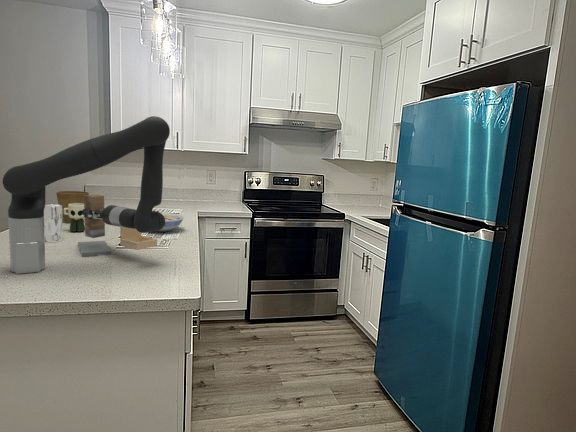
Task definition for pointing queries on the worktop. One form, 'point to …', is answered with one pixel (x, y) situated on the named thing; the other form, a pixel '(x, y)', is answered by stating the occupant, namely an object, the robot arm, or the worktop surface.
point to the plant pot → (70, 200)
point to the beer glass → (53, 222)
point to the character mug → (75, 216)
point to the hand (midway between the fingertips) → (90, 211)
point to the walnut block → (94, 225)
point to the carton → (135, 239)
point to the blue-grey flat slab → (93, 248)
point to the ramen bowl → (171, 221)
